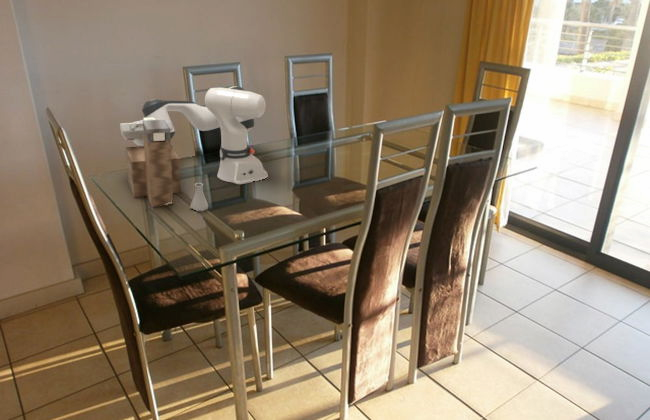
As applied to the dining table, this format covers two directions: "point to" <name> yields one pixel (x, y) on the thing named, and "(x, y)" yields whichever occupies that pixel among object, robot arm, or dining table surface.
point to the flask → (199, 199)
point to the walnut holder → (154, 166)
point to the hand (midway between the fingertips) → (148, 123)
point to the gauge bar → (156, 135)
